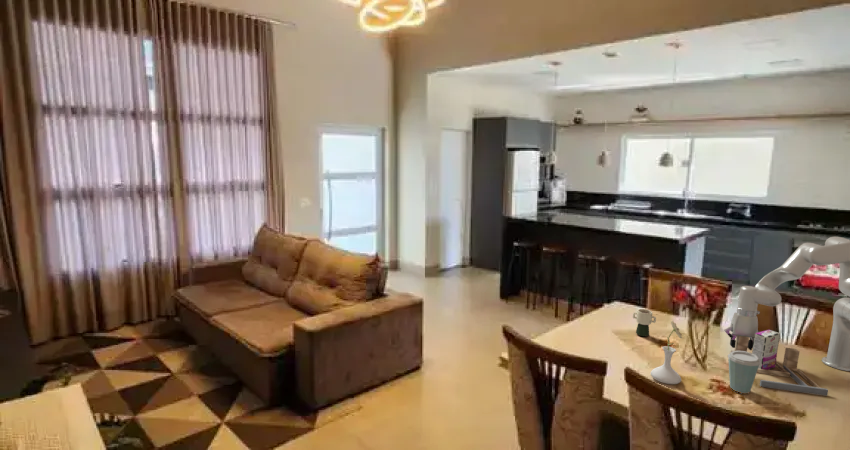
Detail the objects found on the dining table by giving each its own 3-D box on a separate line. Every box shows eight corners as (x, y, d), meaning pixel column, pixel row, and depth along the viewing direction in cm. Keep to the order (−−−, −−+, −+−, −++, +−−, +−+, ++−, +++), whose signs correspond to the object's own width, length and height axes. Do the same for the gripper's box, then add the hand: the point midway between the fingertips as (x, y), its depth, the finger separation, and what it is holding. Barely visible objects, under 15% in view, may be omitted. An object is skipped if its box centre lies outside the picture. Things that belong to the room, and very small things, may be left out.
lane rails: (799, 371, 202) (800, 366, 201) (827, 395, 182) (828, 390, 181) (740, 364, 208) (740, 358, 207) (760, 386, 187) (761, 380, 187)
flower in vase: (679, 390, 182) (687, 330, 178) (648, 381, 188) (655, 323, 184) (681, 377, 193) (689, 320, 189) (652, 369, 199) (658, 314, 195)
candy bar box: (763, 363, 209) (768, 329, 207) (775, 367, 205) (781, 333, 202) (748, 367, 205) (754, 332, 202) (761, 372, 200) (766, 336, 197)
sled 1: (765, 354, 218) (769, 335, 217) (789, 376, 197) (793, 355, 195) (729, 350, 222) (731, 331, 221) (748, 371, 201) (751, 350, 199)
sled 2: (794, 367, 206) (797, 348, 204) (822, 392, 184) (826, 371, 183) (781, 366, 207) (784, 347, 206) (808, 390, 185) (812, 369, 184)
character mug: (654, 335, 238) (657, 311, 235) (652, 340, 232) (655, 315, 230) (632, 330, 244) (635, 307, 242) (629, 334, 238) (632, 310, 236)
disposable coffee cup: (744, 398, 177) (749, 362, 175) (717, 385, 187) (722, 351, 185) (761, 394, 182) (767, 358, 179) (733, 381, 191) (739, 347, 189)
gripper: (764, 311, 218) (758, 347, 221) (722, 307, 222) (717, 342, 225) (771, 317, 211) (765, 353, 214) (728, 312, 215) (723, 348, 218)
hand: (741, 347), depth 219 cm, fingers open, 6 cm apart
